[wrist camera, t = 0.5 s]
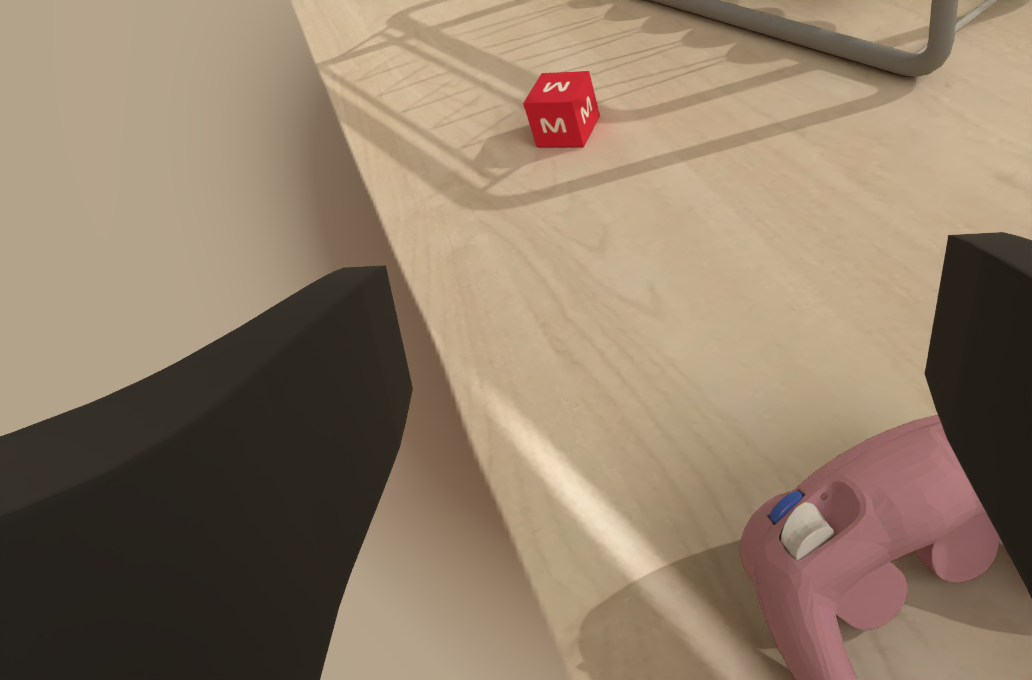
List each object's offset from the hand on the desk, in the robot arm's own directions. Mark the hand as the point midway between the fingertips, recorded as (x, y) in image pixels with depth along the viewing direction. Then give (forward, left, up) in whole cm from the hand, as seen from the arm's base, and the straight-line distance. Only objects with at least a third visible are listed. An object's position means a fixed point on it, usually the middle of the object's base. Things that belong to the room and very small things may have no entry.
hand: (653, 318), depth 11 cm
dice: (+34, -2, -19) cm, 39 cm away
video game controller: (+3, -6, -19) cm, 20 cm away
